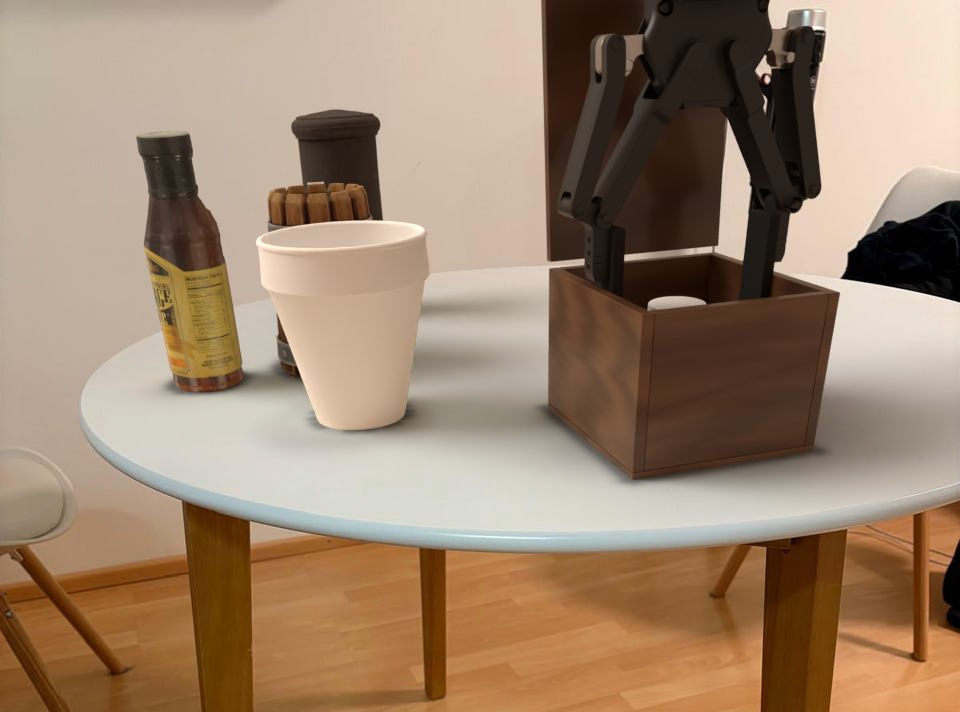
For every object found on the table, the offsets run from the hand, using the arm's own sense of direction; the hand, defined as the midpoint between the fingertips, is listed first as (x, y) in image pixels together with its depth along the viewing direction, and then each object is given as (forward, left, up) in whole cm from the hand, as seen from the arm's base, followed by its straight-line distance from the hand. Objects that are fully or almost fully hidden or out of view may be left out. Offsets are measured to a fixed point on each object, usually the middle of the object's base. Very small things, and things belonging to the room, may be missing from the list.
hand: (681, 321), depth 63 cm
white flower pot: (+21, -12, -8) cm, 26 cm away
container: (+15, -47, -8) cm, 50 cm away
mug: (+20, -30, -8) cm, 37 cm away
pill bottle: (0, 0, -7) cm, 7 cm away
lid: (0, -8, +11) cm, 14 cm away
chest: (0, 0, -8) cm, 8 cm away
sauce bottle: (+32, -26, -8) cm, 42 cm away
